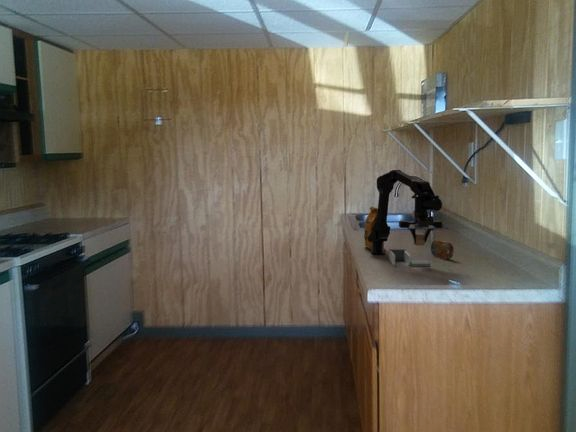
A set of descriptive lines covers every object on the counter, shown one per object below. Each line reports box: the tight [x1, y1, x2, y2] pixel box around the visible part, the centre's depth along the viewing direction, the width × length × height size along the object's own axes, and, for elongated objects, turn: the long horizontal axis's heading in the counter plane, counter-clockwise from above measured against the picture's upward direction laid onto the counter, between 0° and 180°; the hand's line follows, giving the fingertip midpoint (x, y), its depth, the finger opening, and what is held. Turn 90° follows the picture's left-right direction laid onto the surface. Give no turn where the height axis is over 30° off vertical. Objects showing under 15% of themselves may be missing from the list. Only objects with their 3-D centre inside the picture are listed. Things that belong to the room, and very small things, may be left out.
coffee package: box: [363, 206, 385, 251], centre depth 294 cm, size 10×12×22 cm
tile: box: [410, 259, 431, 267], centre depth 255 cm, size 8×8×1 cm
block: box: [413, 232, 426, 246], centre depth 255 cm, size 4×4×5 cm
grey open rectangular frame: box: [388, 248, 411, 266], centre depth 260 cm, size 13×8×5 cm, turn 178°
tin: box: [430, 239, 454, 260], centre depth 270 cm, size 15×3×8 cm, turn 21°
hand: (420, 242), depth 254 cm, fingers closed on block, 4 cm apart
